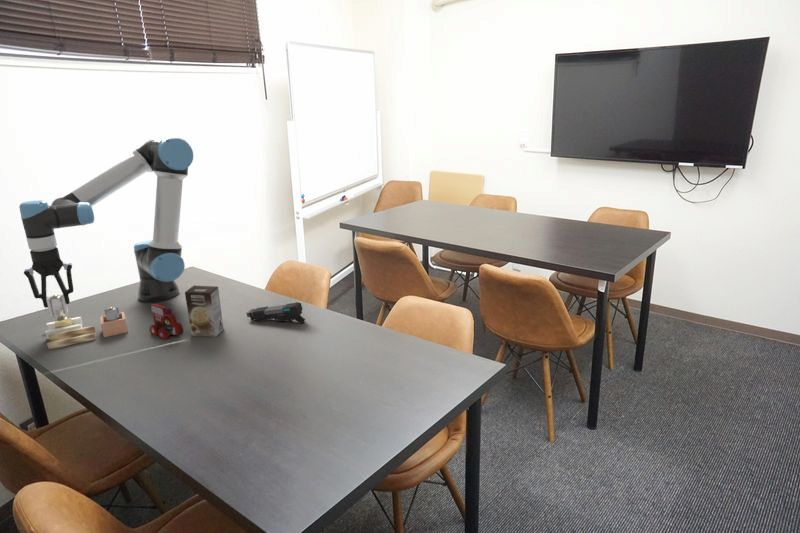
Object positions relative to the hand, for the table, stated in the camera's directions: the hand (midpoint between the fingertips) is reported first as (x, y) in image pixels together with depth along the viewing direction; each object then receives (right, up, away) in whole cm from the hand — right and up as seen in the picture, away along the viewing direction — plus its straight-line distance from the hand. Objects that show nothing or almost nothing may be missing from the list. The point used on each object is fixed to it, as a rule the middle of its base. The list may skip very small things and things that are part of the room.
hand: (59, 314), depth 166 cm
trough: (+8, -9, -4) cm, 12 cm away
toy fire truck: (+37, -7, -1) cm, 38 cm away
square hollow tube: (+18, -6, +2) cm, 20 cm away
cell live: (0, -2, +1) cm, 2 cm away
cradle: (0, -7, +2) cm, 7 cm away
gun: (+72, -4, +9) cm, 73 cm away
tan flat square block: (0, -4, +2) cm, 5 cm away
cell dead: (+18, -6, +2) cm, 19 cm away
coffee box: (+51, -7, 0) cm, 51 cm away
